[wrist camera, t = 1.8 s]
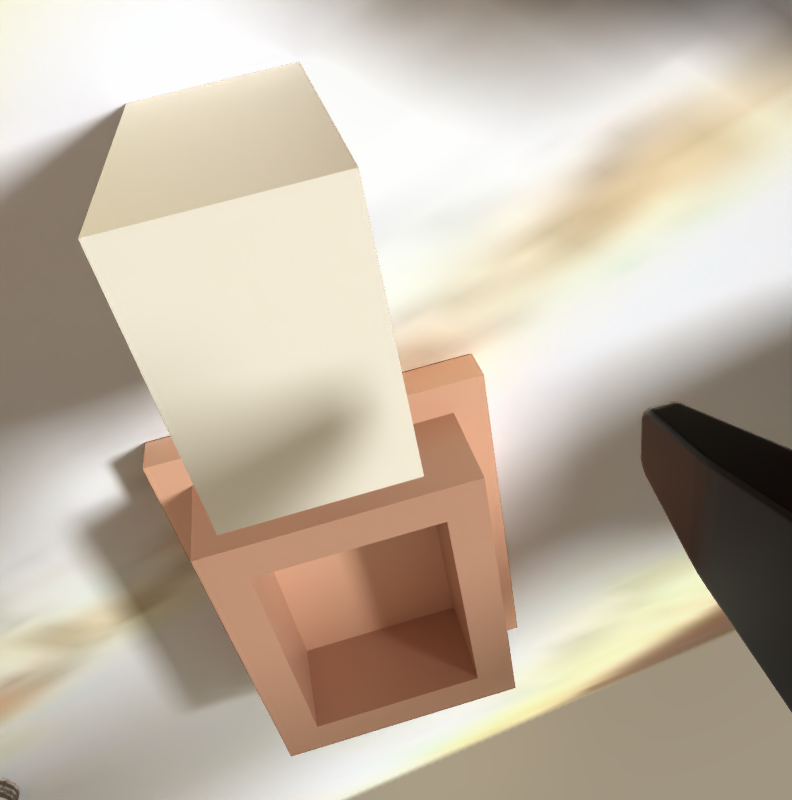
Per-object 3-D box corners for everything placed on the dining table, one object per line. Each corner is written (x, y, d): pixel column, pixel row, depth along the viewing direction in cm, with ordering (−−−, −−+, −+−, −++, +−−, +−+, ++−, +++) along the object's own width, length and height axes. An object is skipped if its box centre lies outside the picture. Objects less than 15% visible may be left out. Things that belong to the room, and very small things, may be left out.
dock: (471, 353, 22) (519, 436, 19) (506, 603, 29) (546, 695, 26) (145, 443, 22) (134, 545, 18) (261, 676, 29) (269, 780, 25)
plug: (299, 61, 17) (357, 167, 10) (354, 291, 20) (424, 476, 14) (126, 103, 17) (78, 238, 10) (212, 329, 20) (217, 535, 14)
